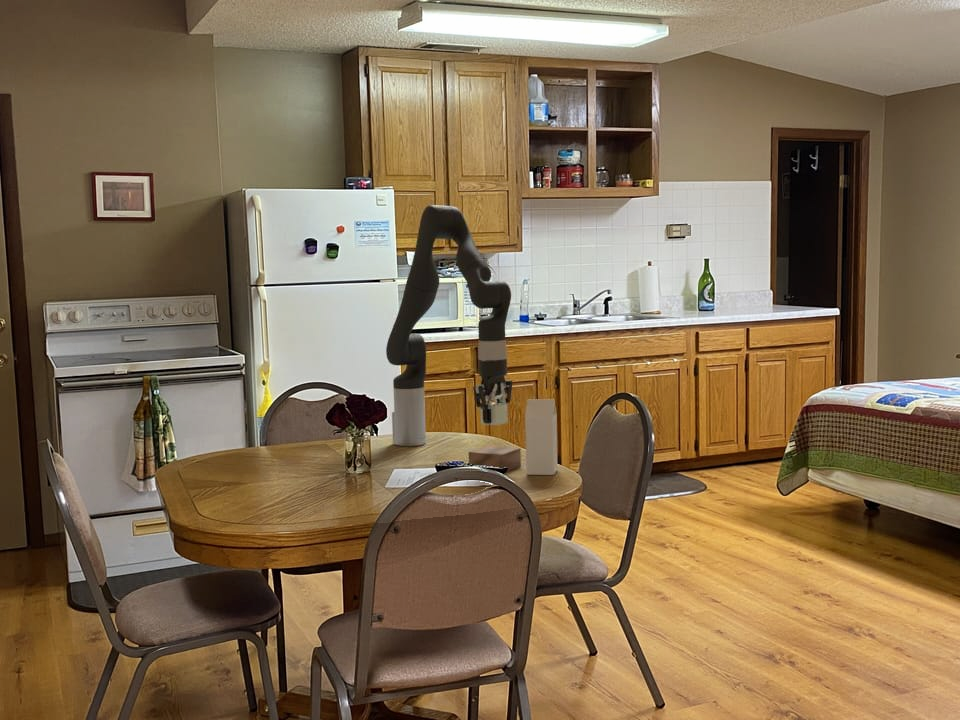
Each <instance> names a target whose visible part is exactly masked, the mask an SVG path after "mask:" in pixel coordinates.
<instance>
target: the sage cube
mask: <svg viewBox="0 0 960 720" xmlns="http://www.w3.org/2000/svg"><path fill="white" fill-rule="evenodd" d="M508 421H509V419H508V403H507V404H502V403H496V402H492V404H491V423H489V424H487V423H484V422H483V410H482V408H480V424H481V425H488V426H490V425H491V426H499V425H503V424H508Z"/></svg>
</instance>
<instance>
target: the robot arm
mask: <svg viewBox="0 0 960 720" xmlns="http://www.w3.org/2000/svg"><path fill="white" fill-rule="evenodd" d="M421 214H422V215H421V218H420V221H419V226H418V233H417V239H416V244H415V249H414V254H413V257H412V258H413V259H412V262H411V265H410V270H409V273H408V275H407V279H406V283H405V287H404V291H403V293H402V294H403V296H402V299H401V303H400V307H399V310H398V313H397V316H396V318H395V321H394V324H393V326H392V329H391V331H390V334H389V337H388V339H387V344H386V348H385V349H386V350H385V353H386V354H385V355H386V358H387V360H388V362H389V364H390V365H393V366H406V368H405V370H404V371H403V372H402V373H401V374H398V375H397V376H395V377H394V378H393V382H392V383H393V406H394V408H393V410H394V411H392V413H391V420H392V421H391V422H392V423H391V424H392V425H391V426H392V427H391V428H392V444H395V445H396V446H401V447H413V446H416V447H417V446H422V445H425V444H426V443H427V440H426V439H427V436H426V431H427V430H426V408H425V407H426V405H425V404H426V403H425V402H426V401H425V397H426V396H425V380H426V376H427V346H426V342H425V339H424V336H422V335H421V334H420V333H415V332H414V333H412V331H413V329H414V327H416V324H417V323H418V322H419V321H420V320H421V319H422V317H424V315H426V313H427V312H428V311H429V310H430V309H431V307H432V305H433V304H434V302H435V299H436V297H437V294H438V289H439V288H440V287H439V286H440V277H439V276H440V275H439V272H438V269H437V266H436V264H435V261H434V258H433V257H434V256H433V251H434V245H435V241H436V240H437V239H439V240H450V239H451V240H452V241H454V242H455V244H456V245H457V246H458V247H457V251H456V255H455V256H456V257H455V259H456V260H455V261H456V265H457V268H458V270H459V272H460V274H461V275H462V277H463V278H464V280H465V281H466V283H467V285H466V286H467V288H468V292H469V297H470V301H471V303H472V304H473V305H474V306H475V307H476V308H478V309H482V310H483V309H492V310H491V313H490V315H488V316H486V317H482V318H481V319H479V320H478V324H477V325H478V326H477V327H478V345H477V360H478V361H477V362H478V364H477V365H478V366H477V367H478V376H479V377H481V381H480V384H478V385H473V394H474V399H475V404H476V407H477V408H480V409H481V408H482V410H483V422H484V423H487V424H489V423H491V404H492V403H493V402H494V401H495V403H502V404H507V405H508V404H510V403H511V401H512V399H511V397H512V389H513V381H512V380H509V379H507V380H506V379H505V376H507V375H508V352H507V351H508V350H507V348H508V347H507V344H506V341H507V340H506V324H507V323H506V321H507V319H508V318H507V316H508V312H509V308H510V305H511V301H512V292H511V291H512V290H511V288H510V286H509V284H508V283H507V282H506V281H504V280H491V278H492V271H491V269H490V267H489V265H488V264H487V262H486V261H485V259H484V258H483V257H482V255H481V254H480V252H479V250H478V248H477V246H476V244H475V241H474V239H473V236H472V234H471V231H470V229H469V226H468V223H467V220H466V219H465V217H464V215H463V213H462V211H461V210H460V209H459V208H458V207H456V206H453V205H442V204H441V205H439V204H437V205H436V204H431V205H430V204H429V205H428V206H426V207H425V209H423V212H422V213H421ZM487 424H486V425H487Z"/></svg>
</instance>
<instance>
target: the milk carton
mask: <svg viewBox="0 0 960 720" xmlns="http://www.w3.org/2000/svg"><path fill="white" fill-rule="evenodd" d="M555 402H556V401H555V399H554V398H553V399H552V398H549V399H546V398H544V399H543V398H542V399H541V398H538V399H537V398H532V399H531V398H527V399H526V406H525V407H526V408H525V415H524V417H525V418H524V422H525V423H524V424H525V425H524V426H525V427H524V428H525V461H526V462H525V467H526V469H525V470H526V471H525V473H526V475H533V476H535V475H536V476H537V475H538V476H540V475H541V476H555V474H556V472H557V471H558V428H557V427H558V423H557V422H558V420H557V415H558V413H557V409H556V403H555Z"/></svg>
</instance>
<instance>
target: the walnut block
mask: <svg viewBox="0 0 960 720" xmlns="http://www.w3.org/2000/svg"><path fill="white" fill-rule="evenodd" d="M521 453H522V451H521V448H520V447H512V446H511V447H510V446H501V445H500V446H498V445H489V444H488V445H485V446H482V447H480V448H476V449H474V450H470V451H468V465H469V464H474V465H486V466H493V467H499V468H504V467H507V468H508V471H511V470H513V469H517V468H520V467H521V466H522V462H521V461H522V459H521V458H522V455H521Z"/></svg>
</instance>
